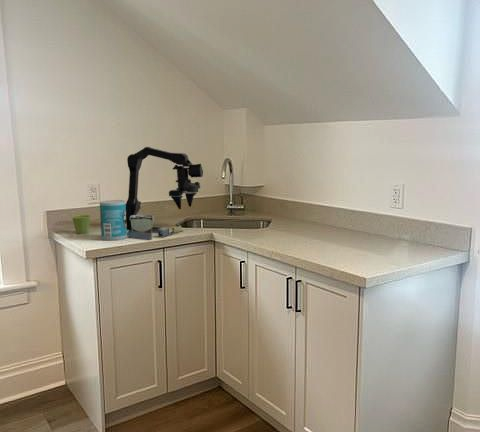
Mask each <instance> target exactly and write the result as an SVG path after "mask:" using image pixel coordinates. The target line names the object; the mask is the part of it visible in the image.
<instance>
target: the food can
mask: <svg viewBox="0 0 480 432" xmlns="http://www.w3.org/2000/svg"><path fill="white" fill-rule="evenodd" d="M99 214H100V215H99V217H100V232H101V233H100V234H101V235H100V236H101V240H103V241H105V242H106V241H109V242H113V241H114V242H115V241H116V242H117V241H123V240H126V239H127V238H128V230H127V223H126V200H122V199H109V200H108V199H107V200H101V201H100V202H99Z"/></svg>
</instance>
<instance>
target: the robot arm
mask: <svg viewBox="0 0 480 432" xmlns="http://www.w3.org/2000/svg"><path fill="white" fill-rule="evenodd" d="M149 156H152V157H154V158H155V157H156V158H158V159H164V160H168V161H170V162H172V163H173V164H175V165H174V167H173V168H172V170H174V171H175V170H176V177H177V178H176V180H175V183H177V188H176V189H171V190H169V191H168V197H170V198H171V199H172V200H173V202H174V203H175V205H176V207H177V209H179V210H182V198H183V197H184V195H183V194H185V199H186V202H187V205H188V207H189V208H191V207H192V205H193V200H194V197H195V196H196V195H197V194H198V192H199V189H201V184H200V182H199V181H195V182H192V180H191V179H190V178H203V177H204V170H203V166H202V163H197V164H194V163H192V162H191V160H190V158H189V156H188V154H186V153H184V152H169V151H166V150H161V149H158V148H153V147H150V146H145V147H144V148H142V149H140V150H139V151H137V152H135V153H131V154H129V155H128V156H127V158H126V160H127V161H126V162H127V168H128V169H129V178H128V179H129V181H128V198H127V200H126V201H125V203H126V223H127V231H129V230H131V229H132V227H131V220H129V219H130V216H132V215H138V213H139V212H140V210H141V203H142V202H141V201H140V200H139V199H138V190H139V173H140V169H141V167H142V162H143V160H145V159H146V158H148V157H149ZM189 177H190V178H189Z"/></svg>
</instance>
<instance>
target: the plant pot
mask: <svg viewBox="0 0 480 432" xmlns="http://www.w3.org/2000/svg"><path fill="white" fill-rule="evenodd" d="M71 219H72V221H73V225H74V230H75V234H76V235H84V234H86V235H87V234H88V233H89V232H90V229H89V228H90V219H91V215H89V214H78V215H73V216H71Z"/></svg>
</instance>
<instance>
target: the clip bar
mask: <svg viewBox="0 0 480 432" xmlns="http://www.w3.org/2000/svg"><path fill="white" fill-rule="evenodd" d="M179 231H182V225H180V224H177V225H176V226H174V227H171V232H172V233H176V232H179Z"/></svg>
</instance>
